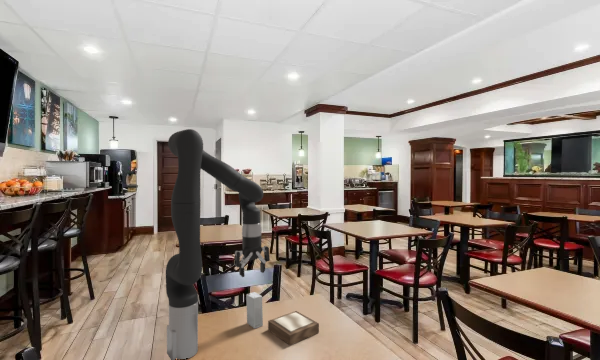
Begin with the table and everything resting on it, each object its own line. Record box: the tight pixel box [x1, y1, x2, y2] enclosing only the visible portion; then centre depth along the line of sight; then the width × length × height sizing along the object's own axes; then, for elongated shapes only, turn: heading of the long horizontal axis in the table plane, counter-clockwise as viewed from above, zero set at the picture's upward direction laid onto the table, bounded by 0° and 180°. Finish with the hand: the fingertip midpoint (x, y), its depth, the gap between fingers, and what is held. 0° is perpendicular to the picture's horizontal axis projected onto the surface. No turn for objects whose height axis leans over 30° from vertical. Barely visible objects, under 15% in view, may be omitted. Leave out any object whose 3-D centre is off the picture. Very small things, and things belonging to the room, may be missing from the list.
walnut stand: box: [267, 310, 320, 346], centre depth 119 cm, size 14×14×4 cm
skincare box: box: [245, 291, 264, 329], centre depth 124 cm, size 6×4×12 cm
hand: (252, 274), depth 123 cm, fingers open, 8 cm apart
